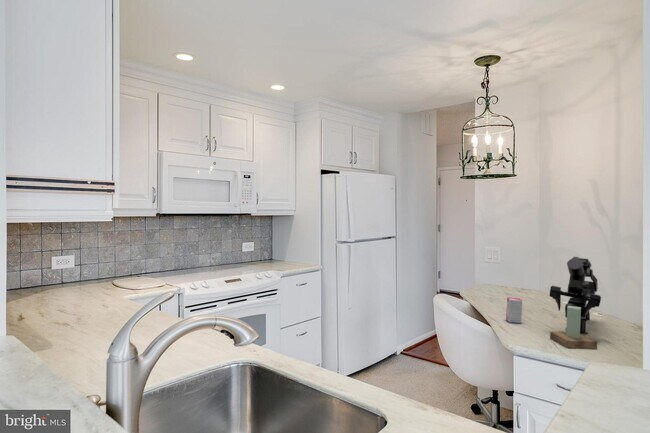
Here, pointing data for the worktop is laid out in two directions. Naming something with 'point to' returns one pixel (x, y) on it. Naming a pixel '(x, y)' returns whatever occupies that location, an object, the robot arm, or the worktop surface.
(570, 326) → the sage block
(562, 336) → the walnut base
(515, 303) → the supplement box
